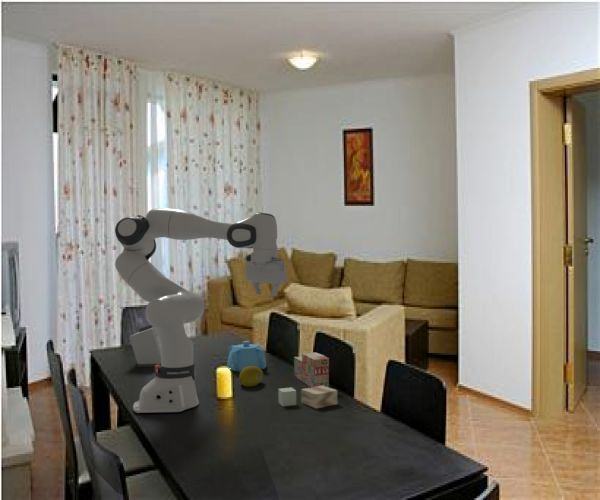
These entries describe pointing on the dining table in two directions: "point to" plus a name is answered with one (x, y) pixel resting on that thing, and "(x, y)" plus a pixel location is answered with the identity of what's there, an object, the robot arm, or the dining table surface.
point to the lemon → (250, 376)
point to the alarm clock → (146, 347)
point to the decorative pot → (246, 356)
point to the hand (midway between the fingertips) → (266, 295)
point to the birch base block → (319, 396)
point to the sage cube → (287, 396)
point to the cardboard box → (312, 369)
